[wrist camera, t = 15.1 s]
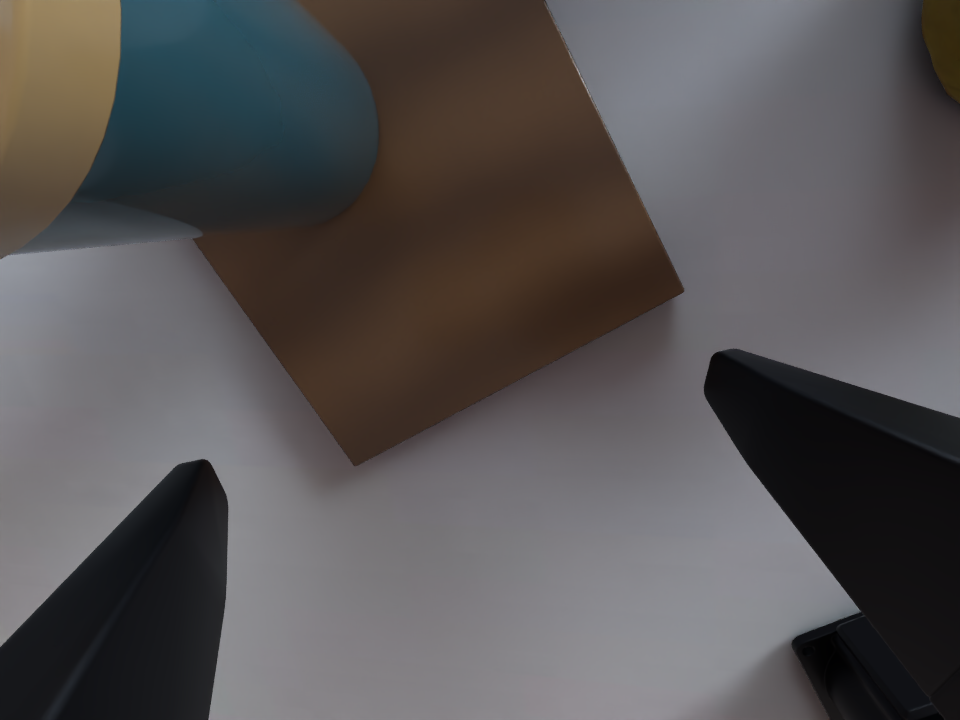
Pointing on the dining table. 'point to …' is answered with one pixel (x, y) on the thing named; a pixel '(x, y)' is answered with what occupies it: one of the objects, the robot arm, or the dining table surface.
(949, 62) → the mug
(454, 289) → the board
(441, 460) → the dining table surface
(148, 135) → the canister
